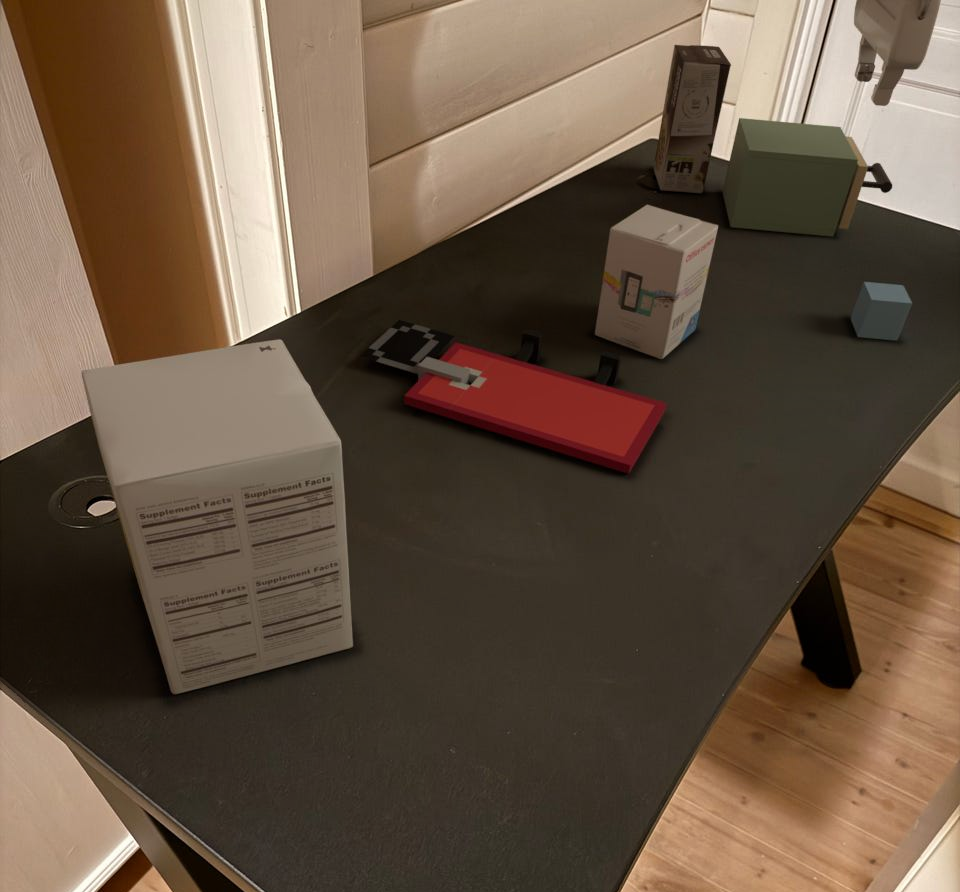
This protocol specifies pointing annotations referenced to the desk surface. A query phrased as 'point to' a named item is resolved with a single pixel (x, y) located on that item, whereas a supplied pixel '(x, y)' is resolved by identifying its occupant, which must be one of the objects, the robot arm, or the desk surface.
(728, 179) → the cabinet
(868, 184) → the drawer
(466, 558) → the desk surface
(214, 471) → the supplement box
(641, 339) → the ink box
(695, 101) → the coffee box
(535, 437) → the red board with handle
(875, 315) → the matte blue-grey cube
